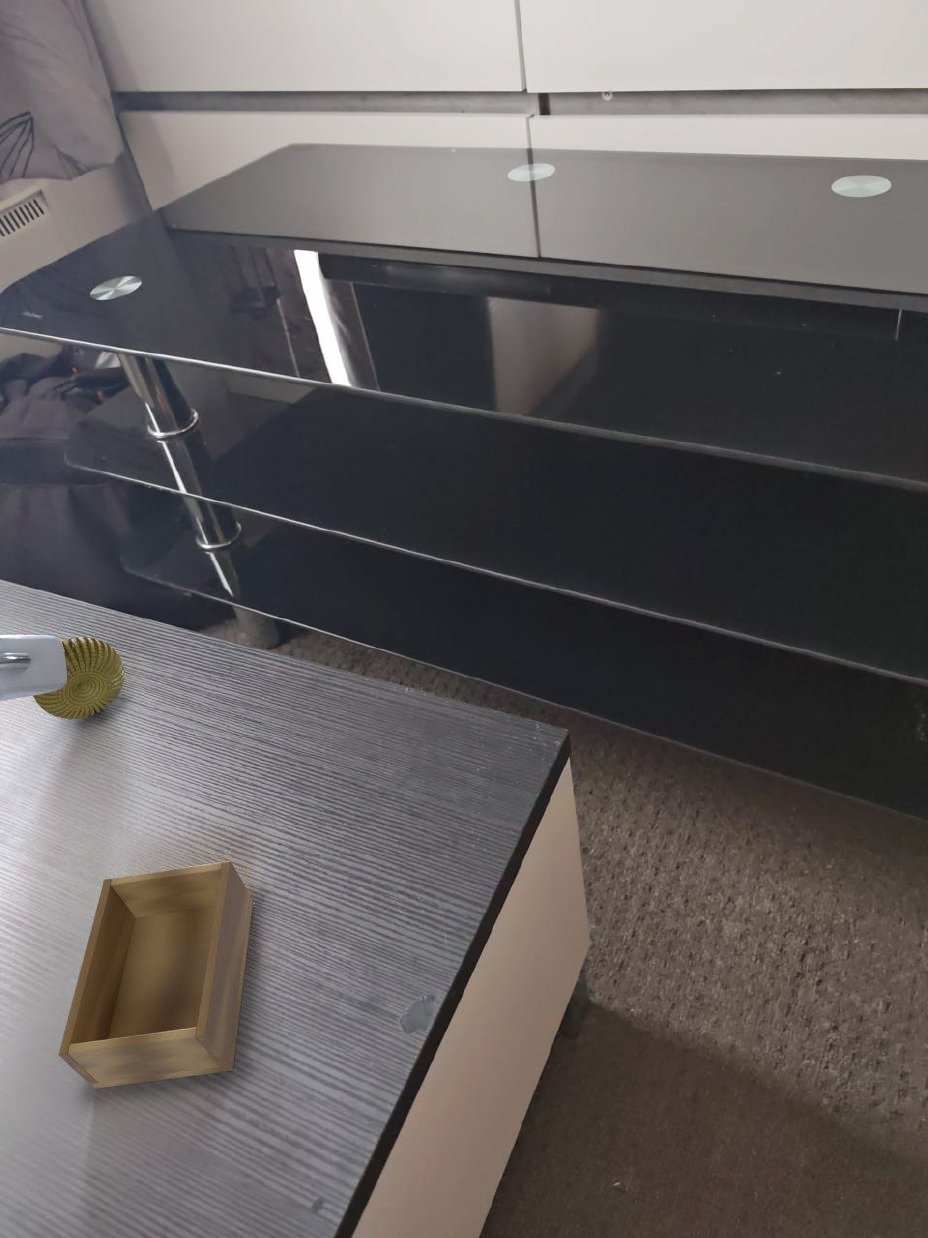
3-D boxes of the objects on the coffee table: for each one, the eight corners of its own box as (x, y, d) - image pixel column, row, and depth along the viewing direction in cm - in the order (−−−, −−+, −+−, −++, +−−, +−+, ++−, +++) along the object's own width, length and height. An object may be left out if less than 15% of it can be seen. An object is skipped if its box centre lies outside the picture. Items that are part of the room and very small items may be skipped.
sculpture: (62, 743, 83) (20, 682, 78) (49, 718, 86) (8, 658, 80) (143, 697, 86) (108, 636, 80) (129, 675, 88) (94, 614, 83)
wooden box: (94, 1089, 59) (57, 1055, 56) (133, 917, 68) (103, 879, 65) (233, 1071, 59) (205, 1035, 55) (253, 900, 68) (230, 860, 64)
